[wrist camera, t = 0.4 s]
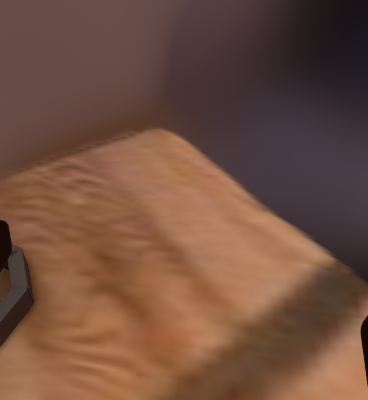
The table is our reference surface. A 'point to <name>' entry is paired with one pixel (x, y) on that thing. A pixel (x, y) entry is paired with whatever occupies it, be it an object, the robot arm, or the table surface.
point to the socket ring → (15, 293)
